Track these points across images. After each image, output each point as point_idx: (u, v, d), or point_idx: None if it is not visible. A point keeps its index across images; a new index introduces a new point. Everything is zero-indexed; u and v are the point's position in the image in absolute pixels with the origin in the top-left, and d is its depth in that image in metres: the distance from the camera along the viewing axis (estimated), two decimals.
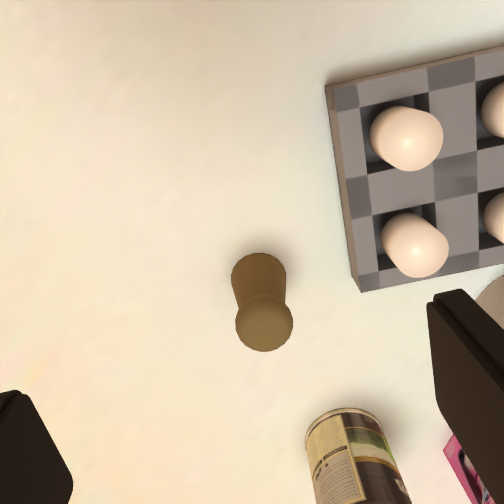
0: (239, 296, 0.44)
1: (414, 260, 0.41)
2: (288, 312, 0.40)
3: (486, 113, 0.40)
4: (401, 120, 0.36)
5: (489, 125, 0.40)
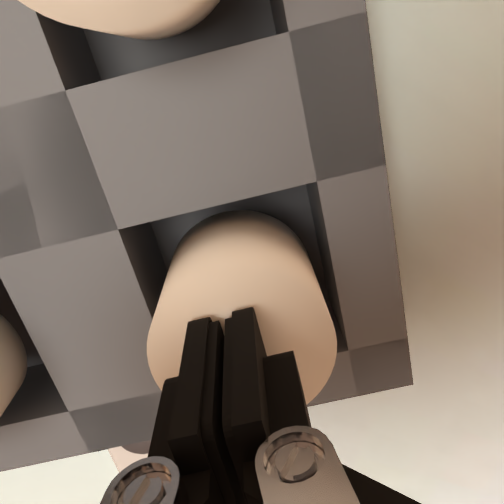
0: None
1: None
2: None
3: (229, 221, 0.14)
4: None
5: (195, 235, 0.14)
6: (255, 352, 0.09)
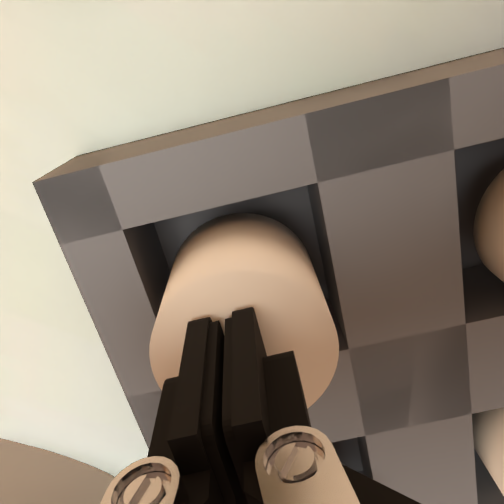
0: None
1: None
2: None
3: None
4: None
5: None
6: (255, 352, 0.09)
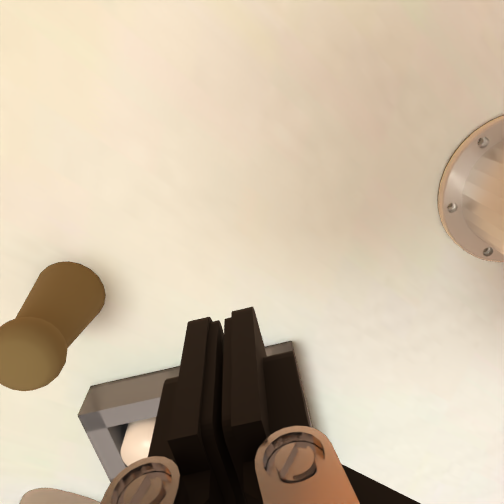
0: (51, 300, 0.35)
1: (139, 449, 0.41)
2: (49, 382, 0.32)
3: None
4: None
5: None
6: (255, 352, 0.09)
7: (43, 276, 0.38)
